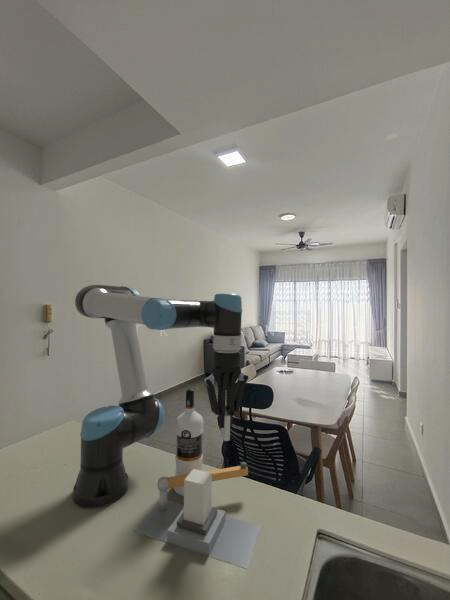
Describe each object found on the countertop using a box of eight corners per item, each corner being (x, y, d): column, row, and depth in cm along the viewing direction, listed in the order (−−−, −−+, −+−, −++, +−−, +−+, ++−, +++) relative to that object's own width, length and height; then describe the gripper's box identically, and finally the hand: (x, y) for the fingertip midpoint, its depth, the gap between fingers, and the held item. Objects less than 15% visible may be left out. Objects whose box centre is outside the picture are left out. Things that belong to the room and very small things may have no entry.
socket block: (133, 535, 68) (133, 509, 68) (161, 502, 80) (161, 479, 80) (247, 574, 59) (247, 543, 59) (260, 529, 70) (261, 504, 71)
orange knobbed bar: (158, 491, 74) (158, 480, 75) (157, 485, 77) (157, 473, 77) (248, 476, 82) (248, 465, 82) (245, 470, 85) (245, 460, 85)
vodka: (208, 483, 89) (209, 386, 90) (196, 502, 80) (198, 395, 81) (181, 477, 92) (183, 384, 93) (167, 495, 83) (169, 392, 84)
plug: (176, 538, 66) (177, 481, 67) (190, 516, 73) (191, 465, 74) (205, 547, 64) (206, 488, 64) (217, 524, 71) (217, 471, 71)
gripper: (210, 354, 70) (208, 450, 70) (254, 351, 76) (253, 440, 76) (199, 349, 77) (197, 437, 77) (240, 347, 83) (239, 428, 82)
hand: (225, 438), depth 76 cm, fingers closed
